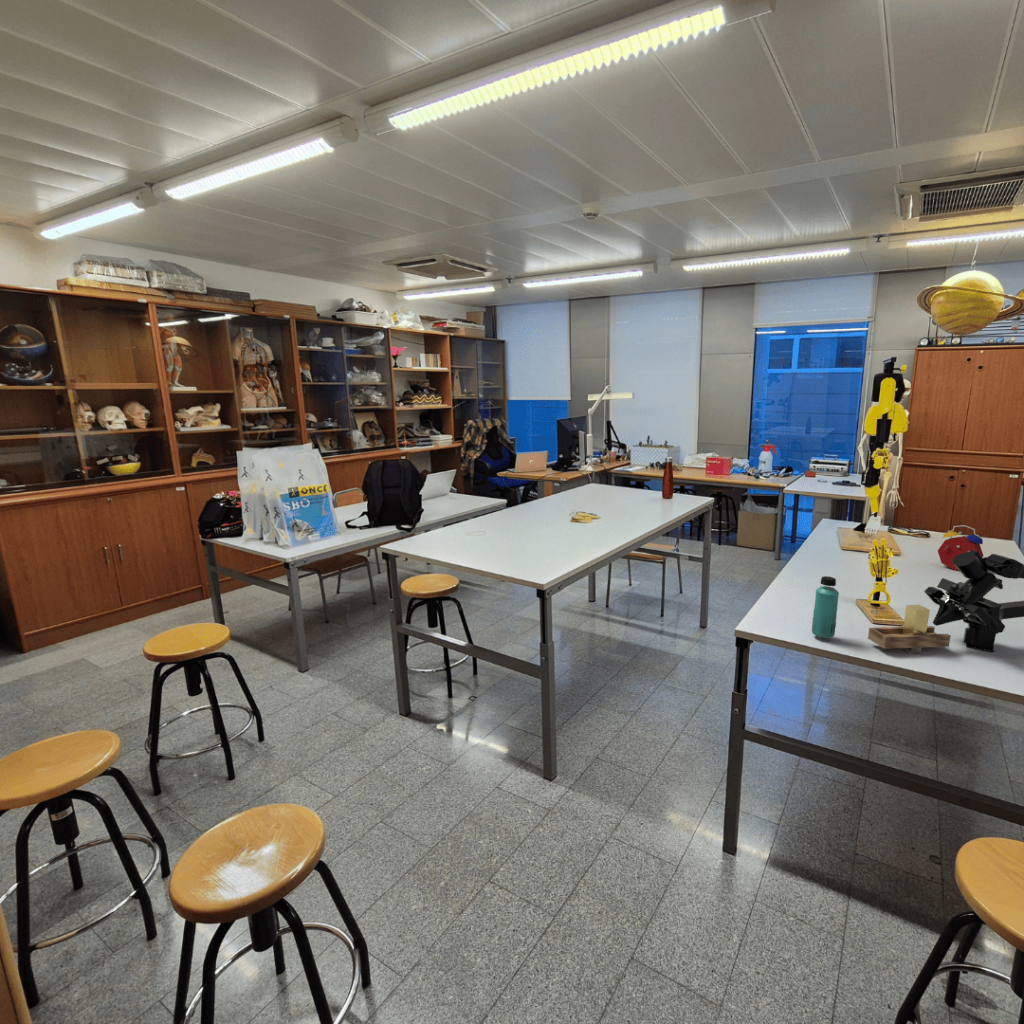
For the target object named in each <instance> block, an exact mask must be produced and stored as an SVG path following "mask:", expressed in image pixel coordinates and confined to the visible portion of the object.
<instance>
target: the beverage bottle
mask: <svg viewBox="0 0 1024 1024" xmlns="http://www.w3.org/2000/svg"><path fill="white" fill-rule="evenodd" d="M836 580H837V579H836V578H835V577H832V576H826V575H825V576H821V579H820V584H821V586H819V587H817V588H816V589H815V600H814V606H813V607H814V608H813V613H812V622H811V624H812V625H811V632H812V634H813V635H815V636H817V637H819V638H824V639H832V638H833V637H834V636H835V635H836V634H835V633H836V627H837V620H838V617H837V616H838V614H837V613H838V606H839V605H838V603H839V596H840V595H839V594H840V593H839V591H838V590H837V589H836V588H835V587H836V586H837V581H836Z"/></svg>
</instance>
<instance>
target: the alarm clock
mask: <svg viewBox="0 0 1024 1024" xmlns="http://www.w3.org/2000/svg"><path fill="white" fill-rule="evenodd" d="M959 527H965V528H968V529H971V530H973V534H969V535H968V534H967V536H966V535H962V534H963V532H962V531H959V532H957V531H955V528H959ZM959 535H961V536H959ZM942 538H943V539H945V538H948V539H945V540H944V541H943V542H942V544H940V546H939V548H938V550H937V553H938V557H939V560H940V562H941V564H943V567H944V566H945V567H948V568H950V569H952V570H953V569H954V571H959V570H958V569H957V567H956V566H955V565H954V564H953V559H954V557H955V556H956V555H959V554H961V553H964V552H969V551H970V550H975V551H978V552H979V554H980V556H981V557H982V558H984V555H985V554H984V553H983V550H982V546H981V545H983V544H984V543H983V538H981V537H980V534H976V529H975V528H973V527H970V526H968V525H964V524H963V525H953V528H952V529H951V530H950V529H949V530H948V531H947V532H945V533H943V535H942Z"/></svg>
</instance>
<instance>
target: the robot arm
mask: <svg viewBox="0 0 1024 1024" xmlns="http://www.w3.org/2000/svg"><path fill="white" fill-rule="evenodd" d="M953 564H954V565H955V566H956V567H957V569H958V570H957V571H959V572H960V573H961V575H962V576H963V577H964V578H966V579H967V580H966V581H965V582H963V581H959V582H954V581H952V580H950V579H946V578H944V577H942V578H941V579H940V581H939V583H938V585H937V586H936V587H935V586H928V587H927V588H926V589H925V590H924V591H923V593H924V594H926V596H927V597H929V599H930V600H931V601H932V602H933V603H934V604H936V605H938V606H939V607H938V610H937V613H936V615H935V617H934V619H933V621H932V624H933V625H934V626H936V627H938V626H941V625H945V624H948V623H953V622H957V621H961V620H962V622H963V623H966V624H968V625H967V627H965V628H964V632H963V633H964V634H963V639H962V640H963V643H965V646H966V648H970V649H975V650H980V651H987V652H989V653H990V652H991V653H995V641H996V636H997V634H999V633H1000V634H1001V633H1003V632H1004V630H1005V628H1006V625H1005V624H1004V622H1002V621H1003V620H1007V619H1009V620H1010V619H1017V618H1024V600H1017V601H1016V600H1015V601H1010V602H1009V601H1008V602H999V603H998V602H995V601H993V600H991V599H988V598H985V596H986V595H987V594H988V593H989V592H990V591H992V590H993V589H994V588H996V589H999V590H1003V588H1004V585H1003V579H1001V578H998V577H996V576H1000V577H1003V578H1006V579H1014V580H1016V579H1023V580H1024V563H1022V562H1020V561H1018V560H1016V559H1014V558H1010V557H1007V556H1004V555H1000V554H997V553H991V554H990V555H989V556H985V557H984V556H983V557H981V556H980V554H979V552H978V551H975V550H970V551H969V552H964V553H961V554H959V555H956V556H955V557H954V559H953ZM941 589H942V590H941ZM943 590H944V591H945V592H943ZM945 593H946V594H945Z"/></svg>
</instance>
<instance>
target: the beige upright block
mask: <svg viewBox="0 0 1024 1024" xmlns="http://www.w3.org/2000/svg"><path fill="white" fill-rule="evenodd" d="M905 606H906V607H905V612H904V619H903V626H902V627H903V632H902V633H903V634H905V635H923V634H926V631H927V626H929V625H928V623H929V617H930V611H931V609H929V608H928V607H925V606H923V605H920V604H906V605H905Z"/></svg>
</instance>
